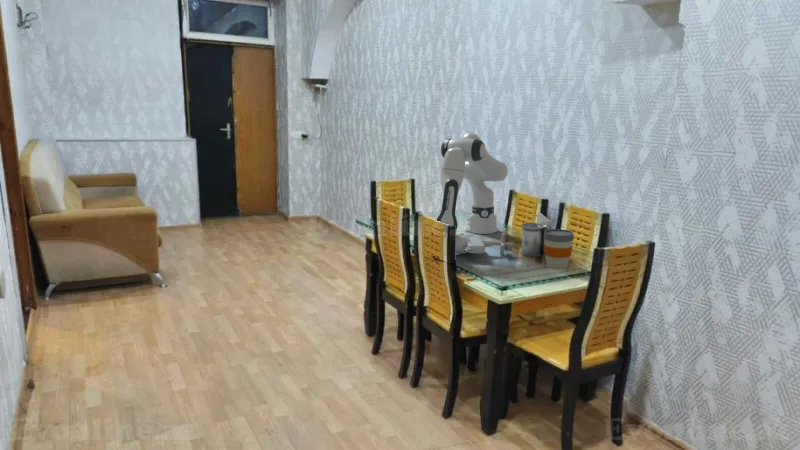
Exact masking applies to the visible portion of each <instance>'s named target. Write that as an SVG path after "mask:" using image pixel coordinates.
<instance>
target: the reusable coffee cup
mask: <svg viewBox="0 0 800 450" xmlns="http://www.w3.org/2000/svg"><path fill="white" fill-rule="evenodd" d="M544 239H545V243H544V252H545V255H546V259H545V261H546V264H545V265H546V267H549V268H550V269H551V268H552V269H559V270H560V269H566V268H568V266H569V260H570V257H571V256H572V252H573V251H572V249H573V241H574V240H575V238H574V232H573V231H572V230H567V229H562V228H561V229H560V228H559V229H558V228H551V229H549V230H546V231H545V233H544Z"/></svg>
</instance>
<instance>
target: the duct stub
mask: <svg viewBox="0 0 800 450" xmlns="http://www.w3.org/2000/svg"><path fill="white" fill-rule="evenodd" d="M536 215H537V216H536V222H523V223H521V224H520V228H522V234H521V236H522V237H521V255H522V256H524V257H530V258H537V257H540V256H542V257H543V258H544V259H545V260H546V255H545V252H544V243H545V239H544V233H545V231H546V230H549V229H552V221H551V220H550V219H549V218H547V217H546V216H545V215H544V214H543V213H541V212H540V211H539V212H537V214H536Z"/></svg>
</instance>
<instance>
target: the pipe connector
mask: <svg viewBox="0 0 800 450" xmlns="http://www.w3.org/2000/svg"><path fill="white" fill-rule="evenodd" d="M491 242H492V246H500V248H499V255H501V256H503V255H504V254H505V247H511V248H513V247H514V242H507V241H506V233H504V232H503V233H501V236H500V241H494V240H492V241H491Z"/></svg>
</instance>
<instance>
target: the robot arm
mask: <svg viewBox="0 0 800 450" xmlns="http://www.w3.org/2000/svg"><path fill="white" fill-rule="evenodd" d="M440 153H441V155H442V158H443V160H442V163H441V170H440V185H441V187H442V191H443V196H442V197H443V198H442V203H441V209H440V210H441V211H440V213H439V215H438V217H437V218H436V220H437V221H440V222H442V223H445V224H449V225H454V226H456V230H457V229H458V225H459V224H458V220H457V217H456V210H457V209H456V207H457V202H458V201H457V200H458V195H459V191H460V190H461V187H462V184H463V182H464V179H465V180H466V181H467V182H468V184H469V185H470V187H471V188H470V189H471V191H472V206H471V215H469V217H467V221H466V222H468V223H467V224H466V227H465V232H467V233H473V234H465V233H459V234H455V235H456V255H457V254H458V255H459V254H460V255H461V254H464V255H465V254H467V252H468V253H470V254H484V253H485V252H486V248H489V247H493V245H492V241H489V240H484V239H483V240H482V238H481V236H480V235H486V234H487V235H488V234H494V233H496V232H500V231H501V230H500V228H498V221H497V218H498V217H497V216H496V215H495V206H494V198H495V197H494V194H495V193H494V191H493V190H492V189H491V188H490V187H488V186H487V185H486V183H485V182H494V183H495V182H502V181H504V180H505V179H506V178H507V176H508V173H509V170H508V165H506V163H505V162H502V161H500V160H498V159H497V158H495V157H493V156H492V155H491V154H490V153H489V152H488V151H487V148H486V145H485V143H484V142H483V140H482V139H481V138H480V136H479V135H477V133H474V132H467V133H465V134H464V135H463V136H462V137H461V138H446V139H445V140H444V141H443V142H442V144H441V146H440ZM477 234H479V235H477Z"/></svg>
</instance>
